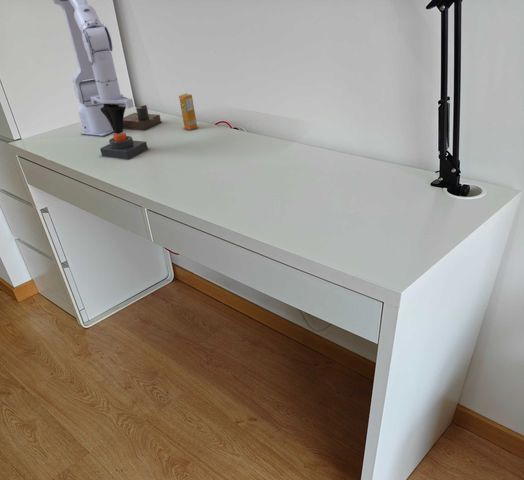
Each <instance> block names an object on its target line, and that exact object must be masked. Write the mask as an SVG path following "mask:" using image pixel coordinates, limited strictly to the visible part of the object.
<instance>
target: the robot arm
mask: <svg viewBox="0 0 524 480" xmlns="http://www.w3.org/2000/svg"><path fill="white" fill-rule="evenodd" d="M52 1H53V4H54V5H58V6H60V8H61V10H62V12H63V15H64V19H65V22H66V25H67V29H68V33H69V37H70V41H71V43H72V44H71V45H72V48H73V52H74V55H75V59H76V63H77V66H78V69H77V71H76V72H75V73H74V74H73V75H72V83H73V89H74V93H75V96H76V99H77V101H78V103H79V106H78V117H79V120H80V124H81V127H82V130H83V131H82V132H81V133H82V135H90V136H101V137H104V136H107V135H109V134H111V133H113V132H114V134H119V133H122V132H123V133H124V128H123V117H125V116H124V115H125V112H126V109H130V108H133V107H135V106H134V101H133V98H130V97H126V96H124V94H122V93H121V89H120V85H119V80H118V76H117V72H116V67H115V63H114V58H113V54H112V52H113V41H112V37H111V34H110V31H109V29H108V26H107V25H105V24H104V23H102V22H101V19H100V18H99V16H98V13H97V12H96V10H95V8H94V7H93V6H92V5H90V4H89V3H88V1H87V0H52Z"/></svg>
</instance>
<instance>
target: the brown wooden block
mask: <svg viewBox="0 0 524 480" xmlns="http://www.w3.org/2000/svg"><path fill="white" fill-rule="evenodd" d="M148 114H149V119H146V120H139V119H138V115H137V112H133V113H130V114H128V115H126V116H124V117H123V129H128V130H129V129H130V130H139V131H146V130H148V129H150V128H153V127H155V126H156V125H159V124H160V123H162V120H161V115H160V114H158V113H157V114H155V113H148Z"/></svg>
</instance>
